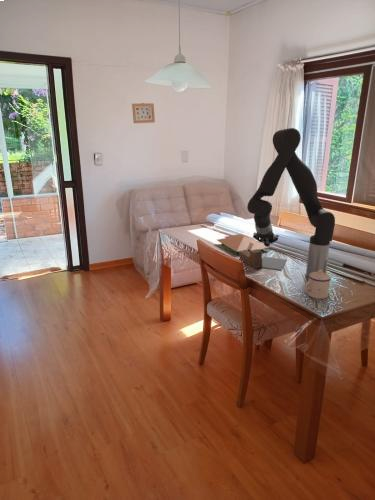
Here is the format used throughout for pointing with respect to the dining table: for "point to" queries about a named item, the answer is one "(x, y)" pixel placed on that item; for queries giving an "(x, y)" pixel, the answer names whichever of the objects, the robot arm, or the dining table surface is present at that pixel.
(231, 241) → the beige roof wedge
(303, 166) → the robot arm
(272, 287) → the dining table surface
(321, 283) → the teacup with lid
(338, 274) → the dining table surface
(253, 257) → the wooden block
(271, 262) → the mat
